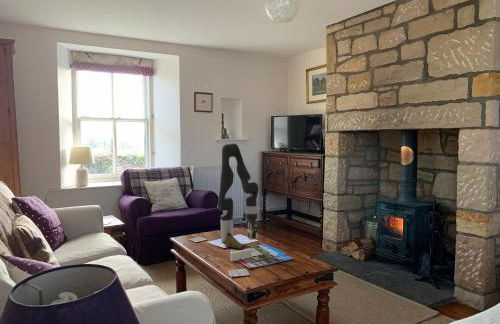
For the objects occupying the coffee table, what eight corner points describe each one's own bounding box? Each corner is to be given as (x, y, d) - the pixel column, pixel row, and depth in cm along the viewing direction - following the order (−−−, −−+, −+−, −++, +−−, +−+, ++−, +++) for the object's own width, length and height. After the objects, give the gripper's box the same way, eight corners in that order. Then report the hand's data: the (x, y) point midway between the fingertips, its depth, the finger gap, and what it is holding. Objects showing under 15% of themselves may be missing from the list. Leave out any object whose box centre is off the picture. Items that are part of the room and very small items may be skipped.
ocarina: (246, 249, 247) (245, 235, 246) (241, 251, 243) (240, 237, 242) (225, 244, 260) (225, 230, 259) (220, 246, 256) (219, 232, 255)
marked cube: (250, 239, 236) (249, 231, 235) (247, 238, 240) (247, 229, 240) (257, 238, 238) (257, 230, 238) (254, 236, 243) (254, 228, 242)
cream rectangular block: (230, 260, 226) (230, 252, 226) (250, 257, 232) (250, 248, 231) (231, 261, 225) (231, 253, 224) (251, 257, 230) (251, 249, 230)
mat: (243, 249, 246) (243, 249, 246) (252, 248, 249) (252, 247, 249) (253, 257, 232) (253, 256, 232) (262, 255, 234) (262, 254, 234)
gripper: (242, 210, 243) (243, 235, 244) (250, 214, 230) (251, 240, 231) (252, 209, 246) (253, 233, 247) (261, 213, 233) (262, 239, 234)
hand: (252, 236), depth 239 cm, fingers closed on marked cube, 5 cm apart
